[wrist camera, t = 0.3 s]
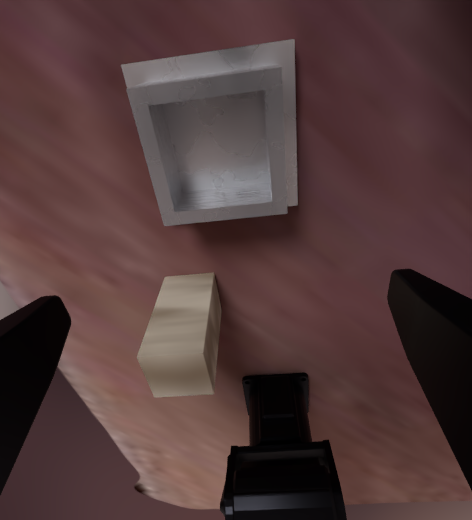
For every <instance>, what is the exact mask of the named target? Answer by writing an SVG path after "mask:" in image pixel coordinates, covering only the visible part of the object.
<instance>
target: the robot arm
mask: <svg viewBox="0 0 472 520" xmlns="http://www.w3.org/2000/svg"><path fill="white" fill-rule="evenodd" d="M387 299H388V304H389V307H390V310H391V313H392V316H393V319H394V322H395V325H396V328H397V331H398V333H399V336H400V339H401V342H402V345H403V348H404V350H405V353H406V356H407V358H408V360H409V362H410V365H411V367H412V369H413V371H414V373H415V375H416V377H417V379H418V381H419V383H420V385H421V387H422V389H423V391H424V393H425V395H426V397H427V400H428V402H429V404H430V406H431V408H432V410H433V412H434V414H435V416H436V418H437V420H438V422H439V424H440V426H441V428H442V430H443V432H444V435H445V437H446V439H447V441H448V443H449V445H450V447H451V449H452V451H453V453H454V455H455V457H456V459H457V461H458V463H459V465H460V467H461V470H462V472H463V474H464V476H465V478H466V480H467V482H468V484H469V486H470V488H471V490H472V299H470V298H468V297H466V296H464V295H462V294H460V293H458V292H456V291H454V290H452V289H450V288H448V287H446V286H444V285H442V284H440V283H438V282H436V281H434V280H432V279H430V278H428V277H426V276H424V275H422V274H420V273H418V272H416V271H414V270H412V269H398V270H394V271H393V272H392V274H391V278H390V284H389V290H388V296H387ZM70 326H71V318H70V315H69V313H68V311H67V309H66V307H65V306H64V304H63V302H62V300H61V298H60V297H58V296H56V295H54V296H43V297H40V298H38V299H37V300H35V301H33V302H31V303H30V304H28V305H26V306H24V307H23V308H21V309H19V310H17V311H16V312H14V313H12V314H10V315H9V316H7V317H5V318H3V319H1V320H0V495H1V493H2V491H3V488H4V486H5V484H6V482H7V479H8V477H9V475H10V473H11V470H12V468H13V466H14V464H15V462H16V459H17V457H18V455H19V453H20V450H21V448H22V446H23V444H24V441H25V439H26V437H27V435H28V433H29V430H30V428H31V425H32V424H33V422H34V419H35V417H36V415H37V413H38V410H39V408H40V406H41V404H42V401H43V399H44V397H45V395H46V392H47V390H48V388H49V386H50V384H51V381H52V379H53V377H54V374H55V371H56V369H57V366H58V363H59V360H60V357H61V354H62V351H63V348H64V345H65V342H66V339H67V336H68V333H69V330H70ZM242 383H243V389H244V394H245V400H246V405H247V411H248V415H249V434H250V446H240V447H238V446H231V453H230V455H229V456H228V461H227V473H226V481H225V486H224V490H223V494H222V498H221V502H220V511H221V512H222V513H223V515H224V516H225V520H347V518H346V512H345V506H344V501H343V495H342V491H341V486H340V482H339V478H338V474H337V470H336V466H335V462H334V458H333V454H332V450H331V446H330V442H329V440H323V441H320V442H312V438H311V432H310V426H309V420H308V414H307V413H308V375H307V374H306V373H292V374H274V375H257V376H245V377H243V379H242Z"/></svg>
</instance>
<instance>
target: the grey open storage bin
mask: <svg viewBox="0 0 472 520" xmlns="http://www.w3.org/2000/svg"><path fill="white" fill-rule="evenodd" d="M121 67H122V71H123V74H124V78H125V82H126V85H127V89H126V90H127V94H128V97H129V101H130V104H131V108H132V112H133V115H134V119H135V122H136V126H137V130H138V133H139V137H140V140H141V144H142V148H143V151H144V155H145V158H146V162H147V166H148V169H149V173H150V176H151V180H152V184H153V187H154V191H155V195H156V198H157V202H158V205H159V209H160V213H161V216H162V220H163V223H164V226H171V225H180V224H190V223H200V222H210V221H220V220H230V219H240V218H250V217H260V216H270V215H279V214H288V213H287V206H297V205H298V193H297V143H296V92H295V42H294V39H291V40H284V41H278V42H271V43H264V44H258V45H251V46H244V47H237V48H231V49H224V50H217V51H211V52H204V53H197V54H190V55H184V56H177V57H170V58H164V59H157V60H150V61H143V62H137V63H130V64H123V65H121Z"/></svg>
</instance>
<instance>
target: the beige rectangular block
mask: <svg viewBox="0 0 472 520" xmlns="http://www.w3.org/2000/svg"><path fill="white" fill-rule="evenodd" d="M221 312H222V309H221V304H220V299H219V294H218V289H217V284H216V279H215V274H214V273H204V274H192V275H181V276H169V277H165V278H164V281H163V284H162V287H161V290H160V292H159V295H158V298H157V301H156V304H155V307H154V310H153V312H152V315H151V318H150V321H149V324H148V327H147V330H146V332H145V335H144V338H143V341H142V344H141V347H140V350H139V352H138V355H137V359H138V361H139V364H140V366H141V368H142V370H143V373H144V375H145V377H146V379H147V382H148V384H149V386H150V388H151V391H152V393H153V395H154V397H171V396H190V395H210V394H214V389H215V378H216V367H217V356H218V345H219V334H220V323H221Z"/></svg>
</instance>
